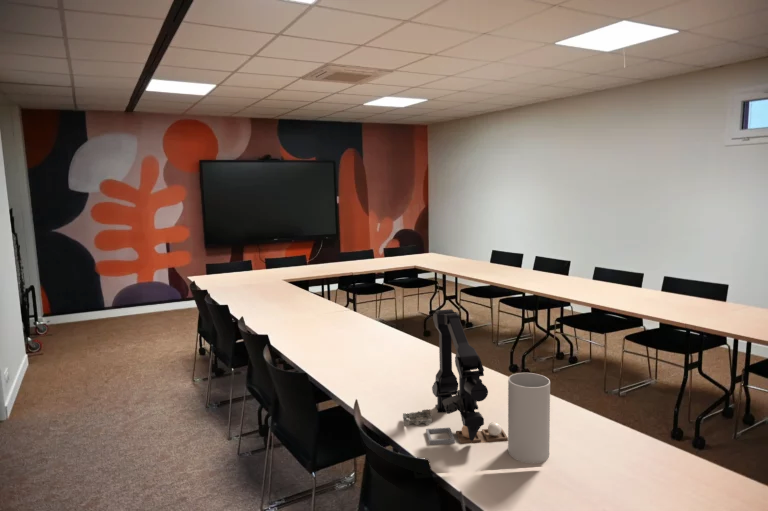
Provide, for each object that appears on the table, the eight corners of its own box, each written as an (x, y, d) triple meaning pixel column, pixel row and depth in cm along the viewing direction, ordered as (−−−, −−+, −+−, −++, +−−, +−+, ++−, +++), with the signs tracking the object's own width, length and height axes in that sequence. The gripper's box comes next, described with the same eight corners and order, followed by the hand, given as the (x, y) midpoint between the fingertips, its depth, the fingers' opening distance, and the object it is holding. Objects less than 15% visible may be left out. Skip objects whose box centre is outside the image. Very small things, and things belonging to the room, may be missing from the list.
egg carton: (431, 419, 187) (431, 408, 186) (432, 428, 179) (431, 417, 179) (403, 418, 188) (402, 408, 187) (402, 428, 180) (402, 417, 180)
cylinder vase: (557, 462, 155) (558, 384, 151) (521, 469, 151) (522, 390, 148) (534, 443, 166) (535, 370, 163) (500, 449, 163) (500, 375, 160)
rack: (455, 435, 174) (455, 430, 173) (501, 432, 174) (501, 427, 174) (460, 446, 166) (460, 441, 165) (508, 443, 166) (508, 438, 166)
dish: (426, 435, 174) (425, 428, 174) (450, 433, 175) (449, 427, 174) (429, 447, 166) (429, 440, 166) (454, 445, 166) (454, 439, 166)
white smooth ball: (486, 432, 172) (486, 420, 172) (499, 432, 173) (499, 419, 172) (489, 439, 168) (489, 426, 167) (503, 438, 168) (503, 425, 167)
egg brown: (460, 434, 172) (460, 421, 171) (473, 433, 172) (473, 421, 171) (463, 441, 167) (463, 428, 167) (476, 440, 167) (476, 427, 167)
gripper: (439, 380, 176) (440, 422, 178) (449, 402, 158) (450, 449, 160) (470, 378, 177) (470, 420, 179) (484, 400, 158) (484, 446, 160)
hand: (468, 433), depth 169 cm, fingers open, 9 cm apart
